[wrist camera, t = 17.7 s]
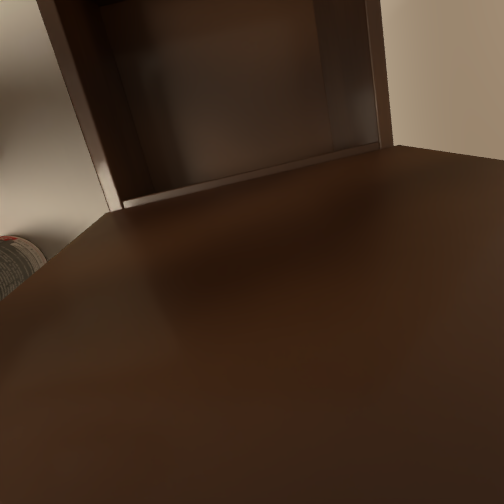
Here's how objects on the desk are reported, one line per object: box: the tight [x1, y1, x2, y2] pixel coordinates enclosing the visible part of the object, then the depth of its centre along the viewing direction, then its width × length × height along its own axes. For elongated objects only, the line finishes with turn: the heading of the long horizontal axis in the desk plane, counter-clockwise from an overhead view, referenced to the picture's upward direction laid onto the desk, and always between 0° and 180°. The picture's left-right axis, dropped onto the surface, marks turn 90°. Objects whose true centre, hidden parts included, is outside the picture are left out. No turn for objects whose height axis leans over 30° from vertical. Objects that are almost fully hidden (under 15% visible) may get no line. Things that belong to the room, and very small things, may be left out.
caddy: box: [36, 0, 394, 212], centre depth 16 cm, size 12×14×7 cm
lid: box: [0, 145, 504, 504], centre depth 8 cm, size 13×14×1 cm
